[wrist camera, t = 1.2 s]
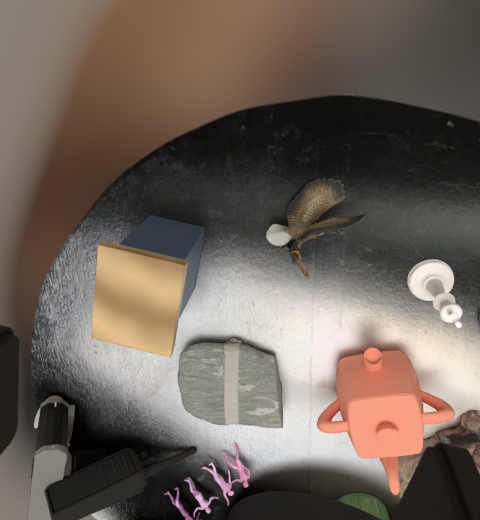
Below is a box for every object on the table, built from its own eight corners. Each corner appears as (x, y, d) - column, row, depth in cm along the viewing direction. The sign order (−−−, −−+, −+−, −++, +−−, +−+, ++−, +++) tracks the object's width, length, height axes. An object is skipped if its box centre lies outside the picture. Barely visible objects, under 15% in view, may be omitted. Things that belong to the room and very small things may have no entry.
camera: (115, 444, 58) (112, 389, 66) (31, 448, 54) (38, 389, 63) (97, 529, 65) (95, 470, 74) (21, 538, 62) (28, 474, 70)
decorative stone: (188, 396, 61) (177, 428, 56) (182, 332, 58) (170, 359, 52) (284, 402, 60) (282, 435, 54) (284, 336, 56) (283, 364, 51)
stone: (374, 448, 62) (415, 485, 65) (382, 500, 56) (427, 539, 59) (472, 404, 56) (513, 447, 59) (494, 457, 49) (539, 502, 52)
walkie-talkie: (42, 482, 60) (179, 424, 69) (54, 531, 58) (192, 464, 68) (42, 485, 54) (191, 422, 64) (56, 539, 53) (206, 465, 63)
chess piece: (421, 305, 52) (446, 355, 43) (398, 273, 51) (419, 317, 42) (461, 284, 51) (496, 330, 41) (439, 250, 49) (470, 291, 40)
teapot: (299, 375, 58) (299, 432, 48) (364, 313, 53) (377, 364, 44) (381, 435, 60) (396, 501, 50) (451, 381, 55) (481, 443, 46)
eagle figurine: (326, 274, 51) (380, 218, 46) (291, 284, 45) (348, 222, 41) (285, 226, 54) (333, 168, 49) (248, 230, 48) (297, 165, 43)
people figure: (226, 455, 60) (260, 504, 59) (241, 434, 66) (272, 479, 65) (139, 507, 67) (168, 553, 66) (159, 485, 72) (187, 526, 71)
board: (103, 240, 41) (97, 244, 40) (188, 260, 40) (185, 265, 39) (96, 331, 45) (91, 338, 44) (173, 350, 44) (170, 357, 43)
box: (150, 214, 52) (109, 251, 41) (205, 227, 52) (179, 268, 41) (143, 275, 55) (103, 325, 44) (195, 287, 55) (168, 340, 44)
